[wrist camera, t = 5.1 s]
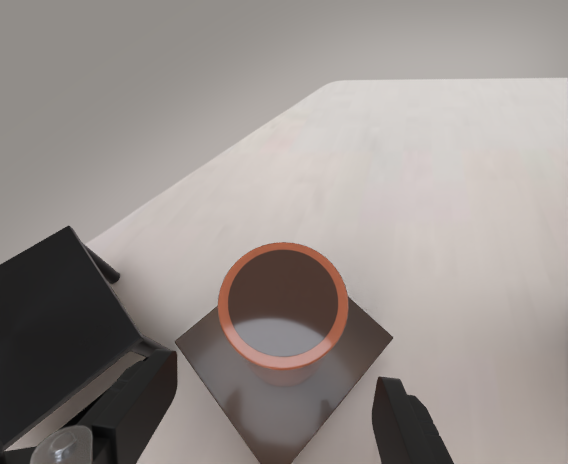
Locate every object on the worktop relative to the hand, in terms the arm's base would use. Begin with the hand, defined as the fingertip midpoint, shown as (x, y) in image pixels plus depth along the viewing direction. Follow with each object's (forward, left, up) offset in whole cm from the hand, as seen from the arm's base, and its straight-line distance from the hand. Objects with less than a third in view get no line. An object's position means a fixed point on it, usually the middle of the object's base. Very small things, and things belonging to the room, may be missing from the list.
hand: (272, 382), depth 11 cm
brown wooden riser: (-3, -2, -14) cm, 15 cm away
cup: (-3, -2, -9) cm, 10 cm away
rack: (+10, -14, -14) cm, 23 cm away
